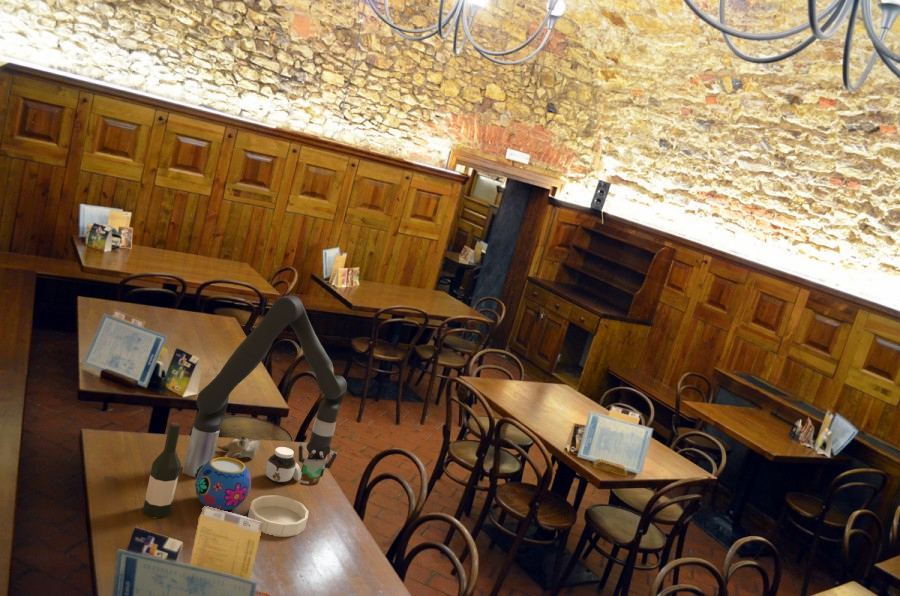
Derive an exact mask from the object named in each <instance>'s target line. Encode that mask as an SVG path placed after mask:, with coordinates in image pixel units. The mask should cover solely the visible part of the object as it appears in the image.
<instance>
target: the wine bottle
mask: <svg viewBox="0 0 900 596" xmlns="http://www.w3.org/2000/svg"><path fill="white" fill-rule="evenodd" d="M180 433H181V425H180V422H178V421H172V422H170V424H169V425H168V429H167V434H166V439H165V444H164V447H163V448H164V449H163V451H161V453H160V454H159V455H158V456H157V457H156V458H155V459H154V460H153V461H152V466H151V470H150V474H149V479H148V483H147V484H148V485H147V488H146V489H147V490H146V494H145V498H144V503H143V504H144V505H143V507H142V513H144V514H145V516H147V517H148V516H149V518H153V517H156V518H155V519H161V518H160V517H163V518H167V517H168V516H169V515H170V514H171V513H172V511H171V510H172V508H173V502H174V497H175V493H176V488H177V484H178V480H179V475H180V471H181V465H182V463H181V461H180V459H179V456H178V453H177V451H176V449H177V445H178V441H179V436H180ZM166 516H167V517H166Z"/></svg>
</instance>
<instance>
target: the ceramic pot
mask: <svg viewBox="0 0 900 596" xmlns="http://www.w3.org/2000/svg"><path fill="white" fill-rule="evenodd" d="M194 478H195V484H194V485H195V492H196V496H197V498H198V500H199V501H200V503H201V504H202V505H204V506H205V507H207V506H209V507H213V508H217V509H221V510H220V511H228V510H233V509H235V508H238V507H239V506H240V505H241V504H243V502H245V500H246V499H247V497H248V495H249V493H250V490H251V487H252V477H251V473H250V470H249V469H248V467H247V466H246V464H245V463H244V462H243V461H241V460H239V459H237V458H236V459H233V458H228V457H223V456H222V457H220V456H219V457H216V458H215V457H214V459H212V460H211V461H209V462H207V463H206V464H205V465H201V466H199V467H198V468H197V470H196V472H195V477H194ZM209 507H208V508H209Z"/></svg>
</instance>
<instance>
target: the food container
mask: <svg viewBox="0 0 900 596" xmlns="http://www.w3.org/2000/svg"><path fill="white" fill-rule="evenodd" d="M304 459H305V458H304ZM326 463H328V455H326V456H325V459H323V460H320V459H317V458H308V459H305V460H304V463H302V466H303V465H304V466H303V470H302V469H301V470H302V472H301V473H302V475H301V479H299V485H301V486H307V487H309V486H310V487H312V486H316V485H318V484H319V482H320V479H321V477H320V474H321V471H322V468H323V466H324V465H325V464H326ZM319 477H320V478H319Z"/></svg>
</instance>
